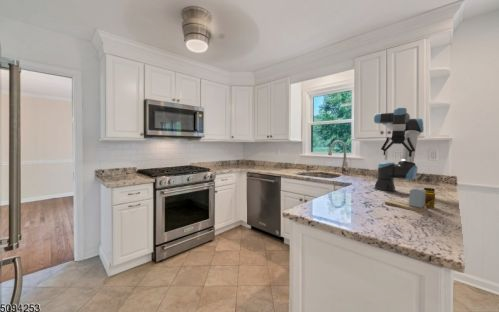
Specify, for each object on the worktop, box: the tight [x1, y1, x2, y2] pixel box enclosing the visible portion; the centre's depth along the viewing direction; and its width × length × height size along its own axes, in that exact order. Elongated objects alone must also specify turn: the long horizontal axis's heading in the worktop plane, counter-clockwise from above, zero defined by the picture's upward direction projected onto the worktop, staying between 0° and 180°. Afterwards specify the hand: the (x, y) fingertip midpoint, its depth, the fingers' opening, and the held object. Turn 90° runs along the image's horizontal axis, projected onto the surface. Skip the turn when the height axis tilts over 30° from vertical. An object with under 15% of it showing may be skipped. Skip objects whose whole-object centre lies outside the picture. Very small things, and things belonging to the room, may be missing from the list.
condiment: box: [423, 187, 438, 210], centre depth 139 cm, size 7×8×12 cm
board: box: [384, 198, 427, 213], centre depth 139 cm, size 12×19×2 cm, turn 40°
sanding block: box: [408, 187, 426, 209], centre depth 134 cm, size 8×6×10 cm
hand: (396, 160), depth 156 cm, fingers open, 13 cm apart
